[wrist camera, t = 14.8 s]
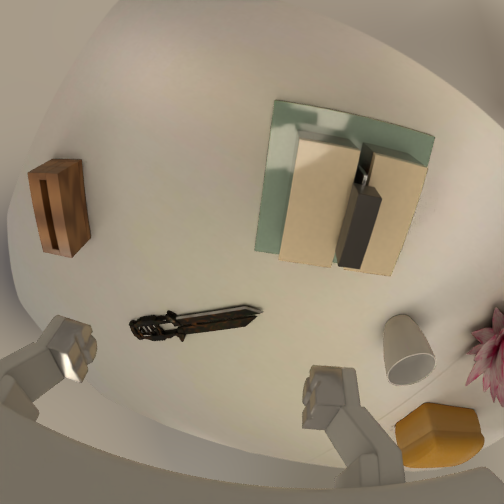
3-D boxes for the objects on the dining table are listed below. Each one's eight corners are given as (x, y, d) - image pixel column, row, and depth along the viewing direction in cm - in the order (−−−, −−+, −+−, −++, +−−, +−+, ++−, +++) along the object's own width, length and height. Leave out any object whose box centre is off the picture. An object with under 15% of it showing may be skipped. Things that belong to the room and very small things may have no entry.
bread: (476, 408, 64) (488, 451, 52) (446, 430, 71) (454, 471, 59) (426, 400, 62) (437, 453, 49) (392, 425, 68) (399, 474, 56)
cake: (274, 99, 33) (272, 104, 27) (432, 135, 33) (457, 149, 27) (254, 247, 44) (249, 277, 38) (390, 268, 43) (402, 298, 37)
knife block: (52, 158, 39) (27, 172, 34) (81, 159, 39) (57, 173, 34) (63, 233, 46) (43, 252, 41) (91, 237, 46) (72, 258, 41)
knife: (261, 301, 49) (260, 307, 48) (269, 330, 52) (268, 336, 51) (125, 312, 54) (122, 318, 53) (140, 337, 57) (137, 342, 56)
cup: (368, 337, 51) (377, 383, 42) (390, 303, 47) (405, 350, 38) (404, 344, 51) (417, 387, 43) (428, 312, 47) (446, 356, 39)
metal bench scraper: (343, 155, 35) (361, 183, 26) (362, 159, 35) (385, 188, 26) (326, 229, 40) (335, 274, 32) (343, 231, 40) (357, 277, 32)
